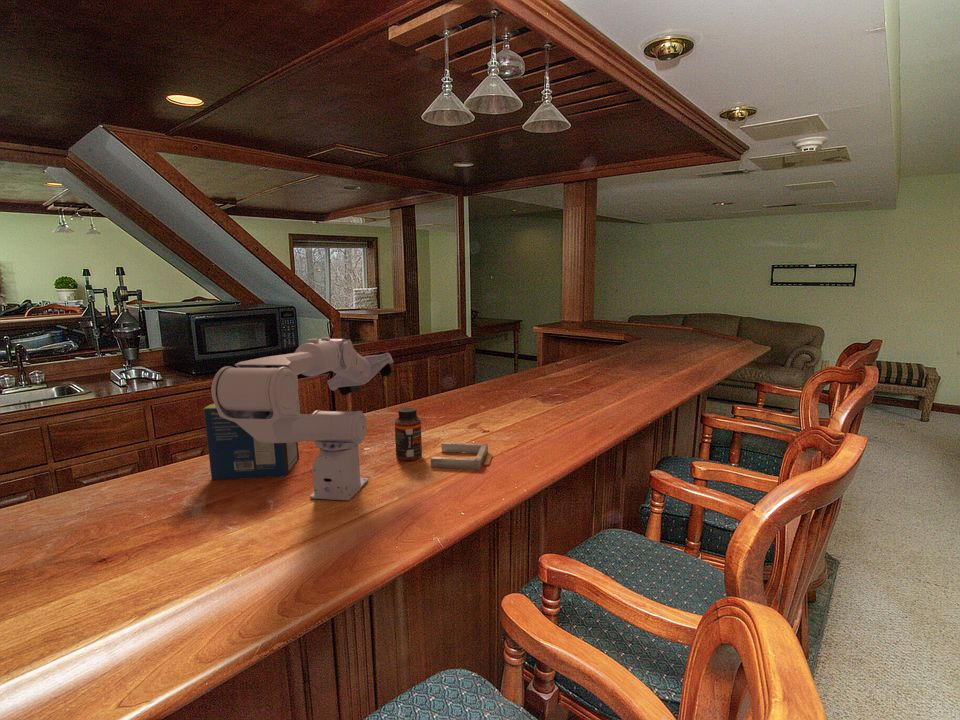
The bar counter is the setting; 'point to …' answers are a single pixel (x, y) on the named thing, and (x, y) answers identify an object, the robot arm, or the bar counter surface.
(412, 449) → the supplement bottle
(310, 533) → the bar counter surface
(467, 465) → the bracket
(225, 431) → the protein box
